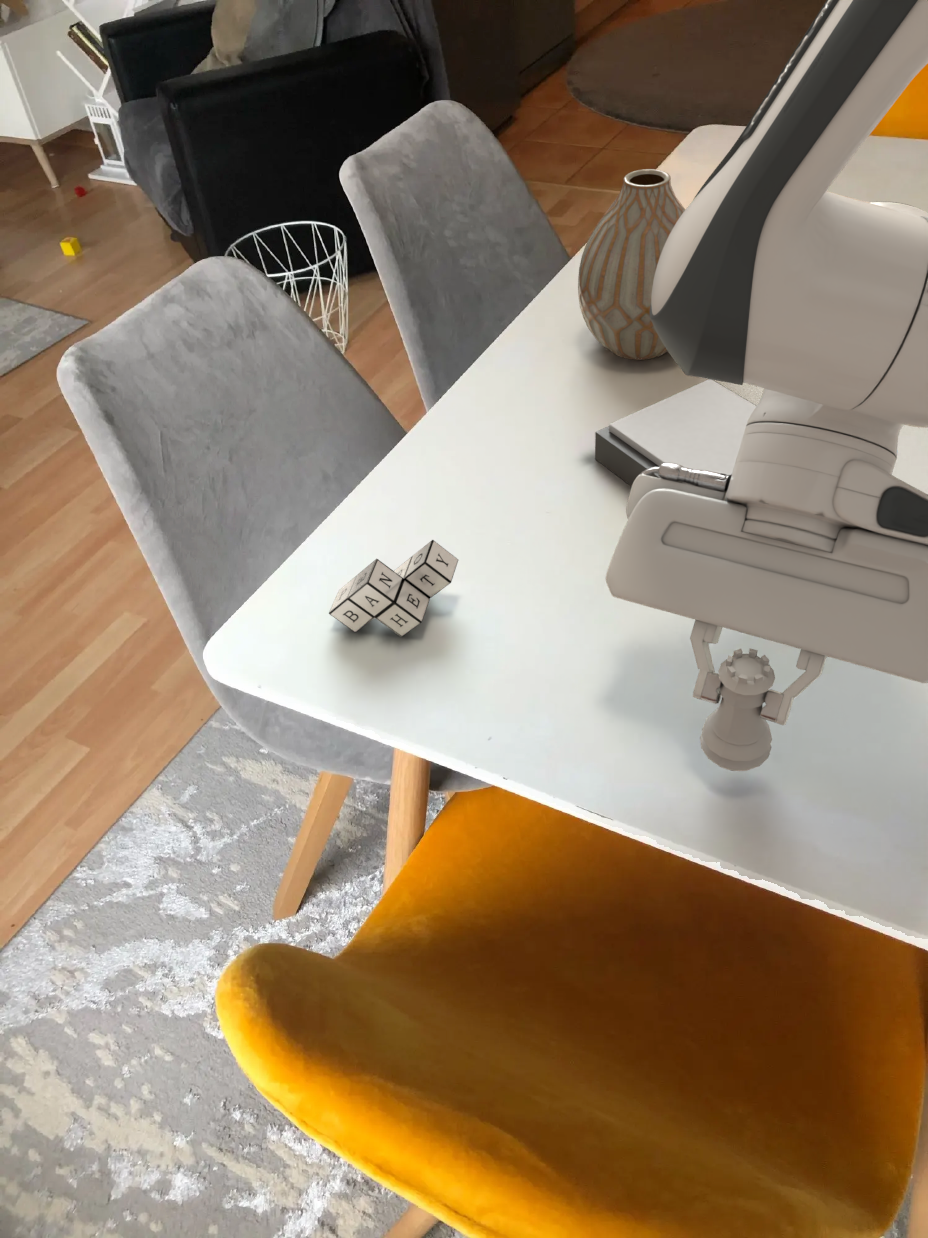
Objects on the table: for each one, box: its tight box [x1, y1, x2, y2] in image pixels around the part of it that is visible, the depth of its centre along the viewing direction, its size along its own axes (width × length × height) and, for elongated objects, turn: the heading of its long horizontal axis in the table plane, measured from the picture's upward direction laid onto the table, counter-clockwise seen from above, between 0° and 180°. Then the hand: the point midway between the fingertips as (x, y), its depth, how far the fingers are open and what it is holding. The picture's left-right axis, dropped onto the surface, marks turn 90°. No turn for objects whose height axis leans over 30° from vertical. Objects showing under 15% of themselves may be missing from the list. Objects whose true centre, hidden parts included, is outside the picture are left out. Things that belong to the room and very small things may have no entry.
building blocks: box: [328, 539, 459, 638], centre depth 75 cm, size 5×5×8 cm
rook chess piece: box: [699, 648, 776, 772], centre depth 59 cm, size 4×4×8 cm
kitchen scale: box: [594, 379, 757, 487], centre depth 85 cm, size 16×14×4 cm
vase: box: [577, 168, 686, 361], centre depth 97 cm, size 13×13×18 cm
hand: (739, 711), depth 59 cm, fingers closed on rook chess piece, 3 cm apart
